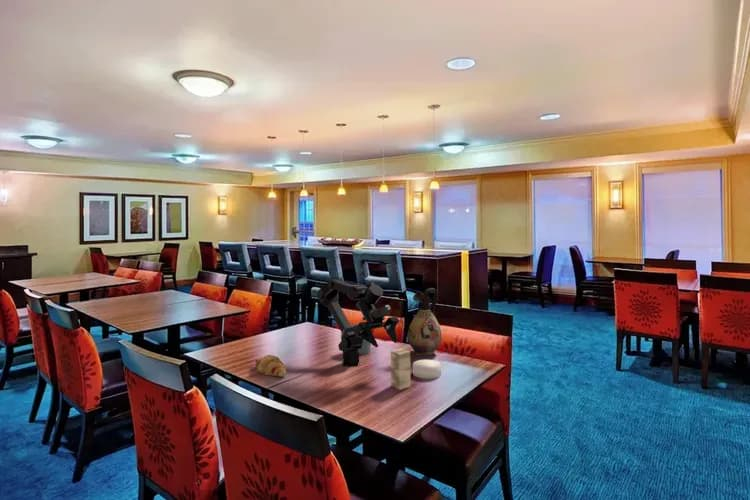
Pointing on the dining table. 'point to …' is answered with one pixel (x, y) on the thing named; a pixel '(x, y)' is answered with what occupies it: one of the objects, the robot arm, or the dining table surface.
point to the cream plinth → (427, 369)
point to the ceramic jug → (425, 325)
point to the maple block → (400, 368)
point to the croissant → (271, 366)
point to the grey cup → (364, 346)
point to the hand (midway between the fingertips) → (386, 344)
